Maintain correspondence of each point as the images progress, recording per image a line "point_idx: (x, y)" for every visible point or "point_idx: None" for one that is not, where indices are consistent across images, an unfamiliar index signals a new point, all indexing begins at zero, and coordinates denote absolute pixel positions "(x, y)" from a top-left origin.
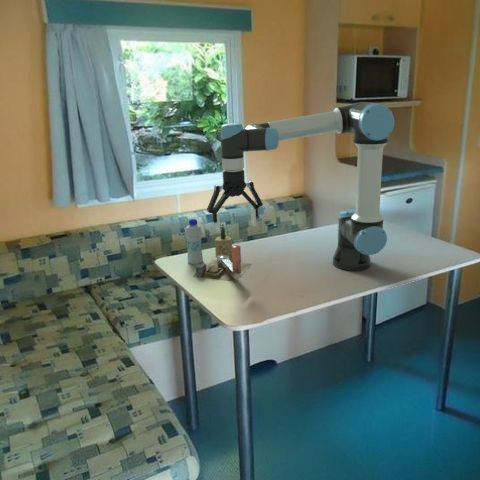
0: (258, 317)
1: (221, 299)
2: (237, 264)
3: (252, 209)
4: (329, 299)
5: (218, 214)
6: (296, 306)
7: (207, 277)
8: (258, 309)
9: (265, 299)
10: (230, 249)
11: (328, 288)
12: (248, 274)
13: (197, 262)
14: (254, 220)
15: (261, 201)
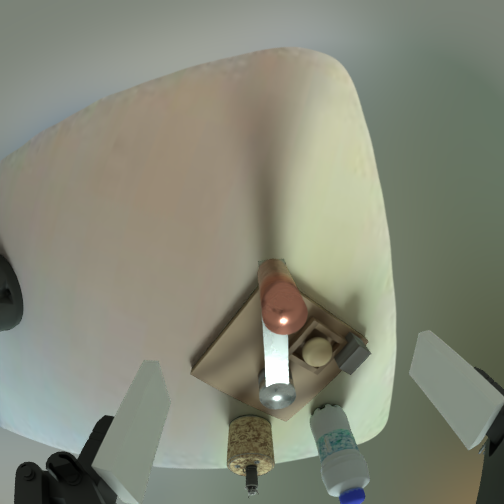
0: (266, 64)
1: (334, 193)
2: (278, 268)
3: (127, 480)
4: (73, 118)
5: (496, 402)
6: (153, 93)
7: (337, 326)
8: (253, 100)
9: (214, 150)
10: (236, 437)
11: (53, 177)
12: (213, 331)
13: (329, 409)
14: (139, 391)
15: (15, 493)
